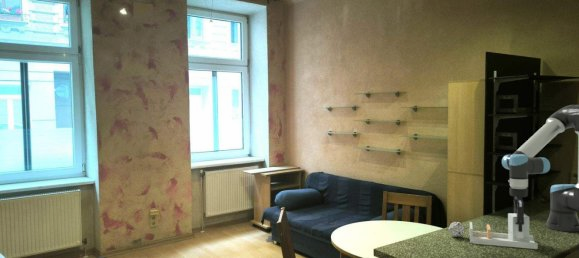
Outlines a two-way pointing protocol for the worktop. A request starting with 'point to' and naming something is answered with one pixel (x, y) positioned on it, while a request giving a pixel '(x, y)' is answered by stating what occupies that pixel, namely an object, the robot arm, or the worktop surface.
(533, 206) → the worktop surface
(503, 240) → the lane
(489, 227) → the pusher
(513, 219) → the supplement box
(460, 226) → the game die
